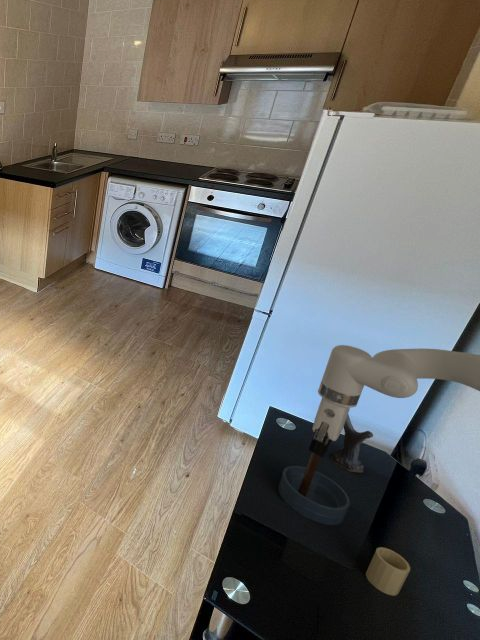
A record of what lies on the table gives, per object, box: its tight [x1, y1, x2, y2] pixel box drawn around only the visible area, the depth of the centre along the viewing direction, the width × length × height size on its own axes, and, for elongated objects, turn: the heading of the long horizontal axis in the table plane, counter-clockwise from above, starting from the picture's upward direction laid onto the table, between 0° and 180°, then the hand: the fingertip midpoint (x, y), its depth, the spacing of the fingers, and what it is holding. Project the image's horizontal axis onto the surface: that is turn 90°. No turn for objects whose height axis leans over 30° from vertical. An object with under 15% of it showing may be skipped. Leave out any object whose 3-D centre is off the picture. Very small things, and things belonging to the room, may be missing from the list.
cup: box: [365, 546, 411, 597], centre depth 91 cm, size 5×5×8 cm
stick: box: [298, 436, 326, 497], centre depth 109 cm, size 2×2×20 cm
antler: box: [330, 414, 374, 473], centre depth 124 cm, size 12×8×25 cm
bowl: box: [277, 465, 351, 526], centre depth 112 cm, size 14×14×6 cm
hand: (317, 451), depth 108 cm, fingers closed on stick, 1 cm apart
